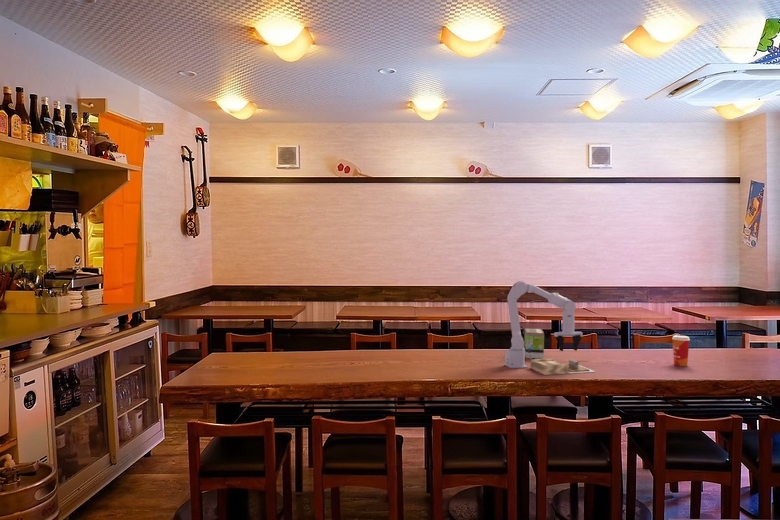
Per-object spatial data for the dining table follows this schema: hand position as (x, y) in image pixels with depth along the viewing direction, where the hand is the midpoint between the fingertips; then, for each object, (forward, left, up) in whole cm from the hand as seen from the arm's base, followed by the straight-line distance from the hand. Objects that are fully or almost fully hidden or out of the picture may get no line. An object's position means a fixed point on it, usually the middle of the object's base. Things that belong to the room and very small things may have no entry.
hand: (568, 350), depth 253 cm
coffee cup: (+62, -4, -10) cm, 63 cm away
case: (-12, -3, -9) cm, 15 cm away
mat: (+2, -3, -9) cm, 10 cm away
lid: (+1, -3, -9) cm, 9 cm away
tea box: (-3, +31, -10) cm, 33 cm away
